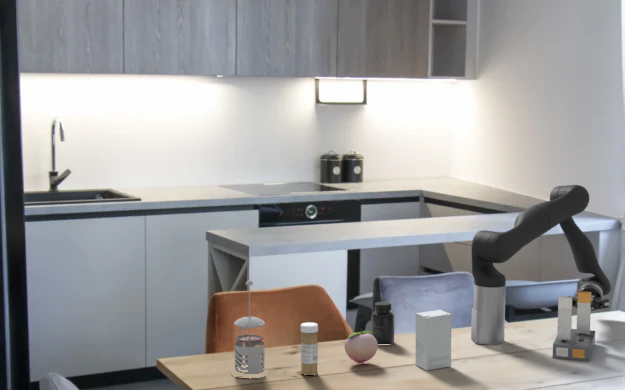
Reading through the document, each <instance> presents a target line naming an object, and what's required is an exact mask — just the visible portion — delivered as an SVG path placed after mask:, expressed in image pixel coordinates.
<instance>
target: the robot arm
mask: <svg viewBox="0 0 625 390" xmlns="http://www.w3.org/2000/svg"><path fill="white" fill-rule="evenodd" d="M589 203H590V194H589V191H588V189H586V187H584V186H582V185H579V184H567V185H557V186H555V187H553V188H552V190H551V191H550V195H549V200H546V201H544V202H541V203H540V202H539V203H537V204H535V205H532V206H530V207H528V208H526V209H524V210H523V211H522V212H520V213H519V214H518V215H517V216H516V217H515V221H514V223H513V224H514V227H513V228H512V227H511V229H509V230H506V231H494V230H484V229H483V230H478V231H477V232H476V233H475V234H474V236H473V238H472V242H471V273H472V277H473V307H472V308H471V321H470V322H471V325H470V328H471V329H470V331H471V333H470V339H471V341H473V342H474V343H475V344H479V345H480V344H481V345H487V346H488V345H489V346H490V345H491V346H492V345H494V346H496V345H501V344H504V343H505V326H506V325H505V322H506V321H505V320H506V315H505V314H506V289H507V288H506V286H507V285H506V280H507V278H506V276H505V274H503V273H502V272H501V271H499V270H498V269H497V268H496V266H494V264H503V263H505V262H507V261H509V260H510V259H511V258H512V257H513V256H515V255H516V254H517V253H518V252H519V251H520V250H522V249H523V248H524V247H526V246H528V244H530V243H532V242H533V241H534V240H537V238H539V237H541V236H543V235H544V234H546V233H547V232H548V231H550V230H552V229H553V228H555V227H557V225H559V226H560V228H561V231H562V232H563V234H564V236H565V238H566V240H567V242H568V244H569V245H568V246H569V248H570V250H571V253H572V256H573V260H574V263H575V266H576V270H577V271H578V272H579V273H580V274H592V275H591V276H587V277H586V276H585V277H583V278H580V279H579V280H578V281H577V284H576V285H577V286H576V289H577V292H578V291H585V292H591V312H592V311H595V310H596V311H597V310H602V309H609V307H610V299H609V298H605V299H603V298H604V296H608V295H609V294H610V292H611V290H612V287H611V286H612V285H611V282H610V279H609V278H608V277H607V275H606V274H605V272H604V271H603V269H602V267H601V266H600V263H599V261H598V257H597V255H596V254H597V253H596V251H595V248H594V246H593V243H592V242H591V240H590V239H589V237H588V236H587V235H586V233H584V232H583V231H582V229H581V228H580V227H579V226H578V225H577V223H576V221H575V220H574V218H573V216H576V215H578V214H580V213H583V212H584V211H585V210H586V209H587V207H588V206H589ZM569 297H572V308H573V307H574V308H576V309H577V301H578V293H577V294H576V296H570V295H569Z"/></svg>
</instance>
